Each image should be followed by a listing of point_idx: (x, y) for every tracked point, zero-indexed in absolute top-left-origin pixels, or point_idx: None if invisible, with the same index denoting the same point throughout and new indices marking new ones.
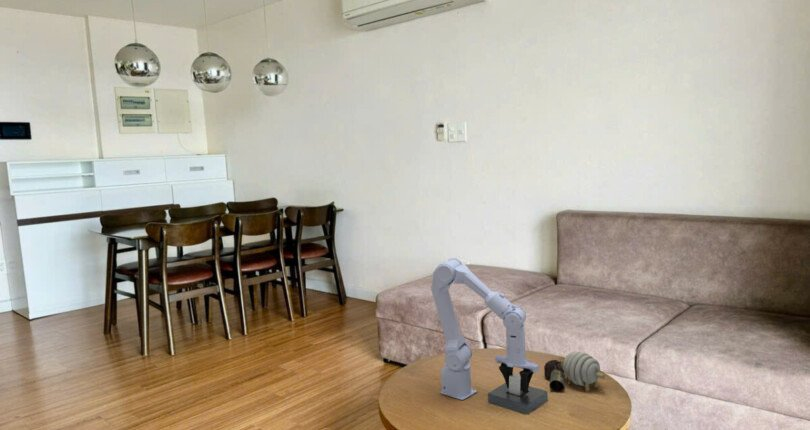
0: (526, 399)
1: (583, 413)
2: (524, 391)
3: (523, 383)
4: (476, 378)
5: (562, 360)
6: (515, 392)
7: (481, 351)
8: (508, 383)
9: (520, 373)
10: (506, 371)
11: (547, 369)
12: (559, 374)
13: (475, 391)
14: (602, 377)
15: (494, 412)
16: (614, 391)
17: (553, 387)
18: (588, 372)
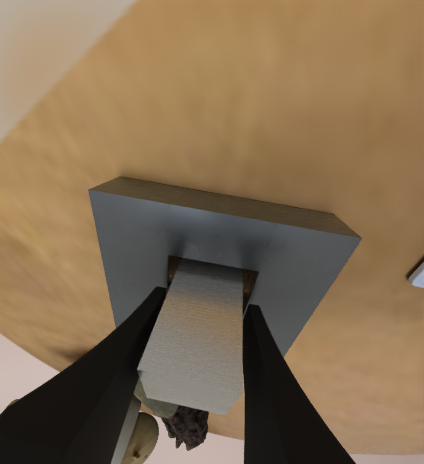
0: (132, 246)
1: (3, 263)
2: (152, 291)
3: (124, 331)
4: (413, 359)
5: (141, 458)
6: (201, 279)
7: (404, 449)
8: (252, 328)
9: (45, 451)
10: (273, 444)
11: (192, 415)
12: (142, 402)
13: (420, 276)
14: (9, 404)
15: (270, 117)
16: (53, 363)
17: None
18: None
